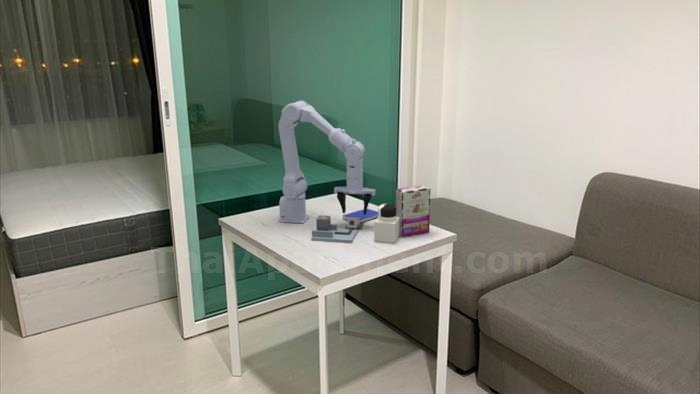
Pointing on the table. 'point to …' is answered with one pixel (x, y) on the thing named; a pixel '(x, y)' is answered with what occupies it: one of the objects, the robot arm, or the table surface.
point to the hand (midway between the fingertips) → (354, 213)
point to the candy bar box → (413, 210)
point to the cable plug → (353, 222)
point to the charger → (323, 223)
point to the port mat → (359, 226)
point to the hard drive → (362, 215)
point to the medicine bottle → (387, 224)
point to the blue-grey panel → (334, 235)
